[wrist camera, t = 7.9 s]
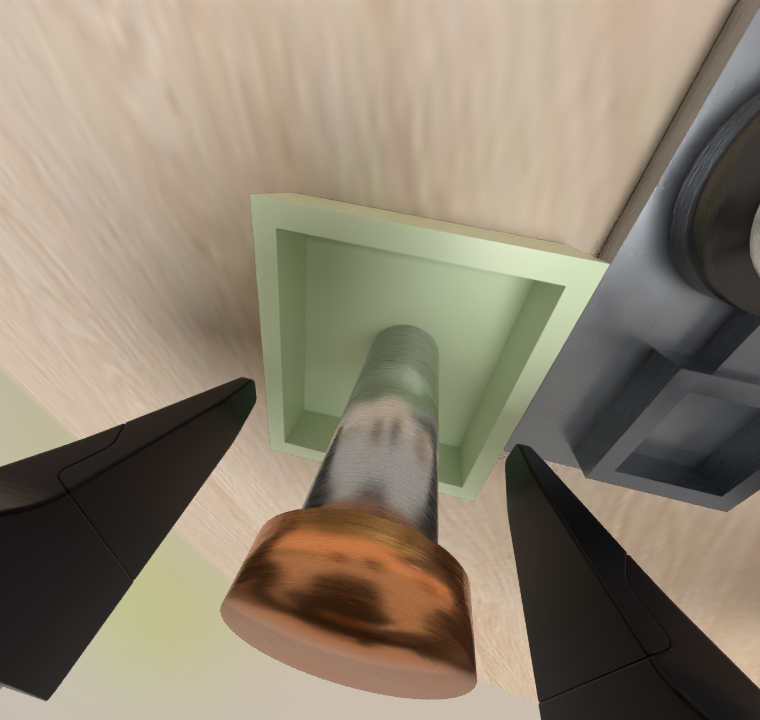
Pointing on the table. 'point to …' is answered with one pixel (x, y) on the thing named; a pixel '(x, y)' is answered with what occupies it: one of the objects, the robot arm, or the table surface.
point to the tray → (408, 319)
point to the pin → (367, 547)
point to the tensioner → (674, 309)
